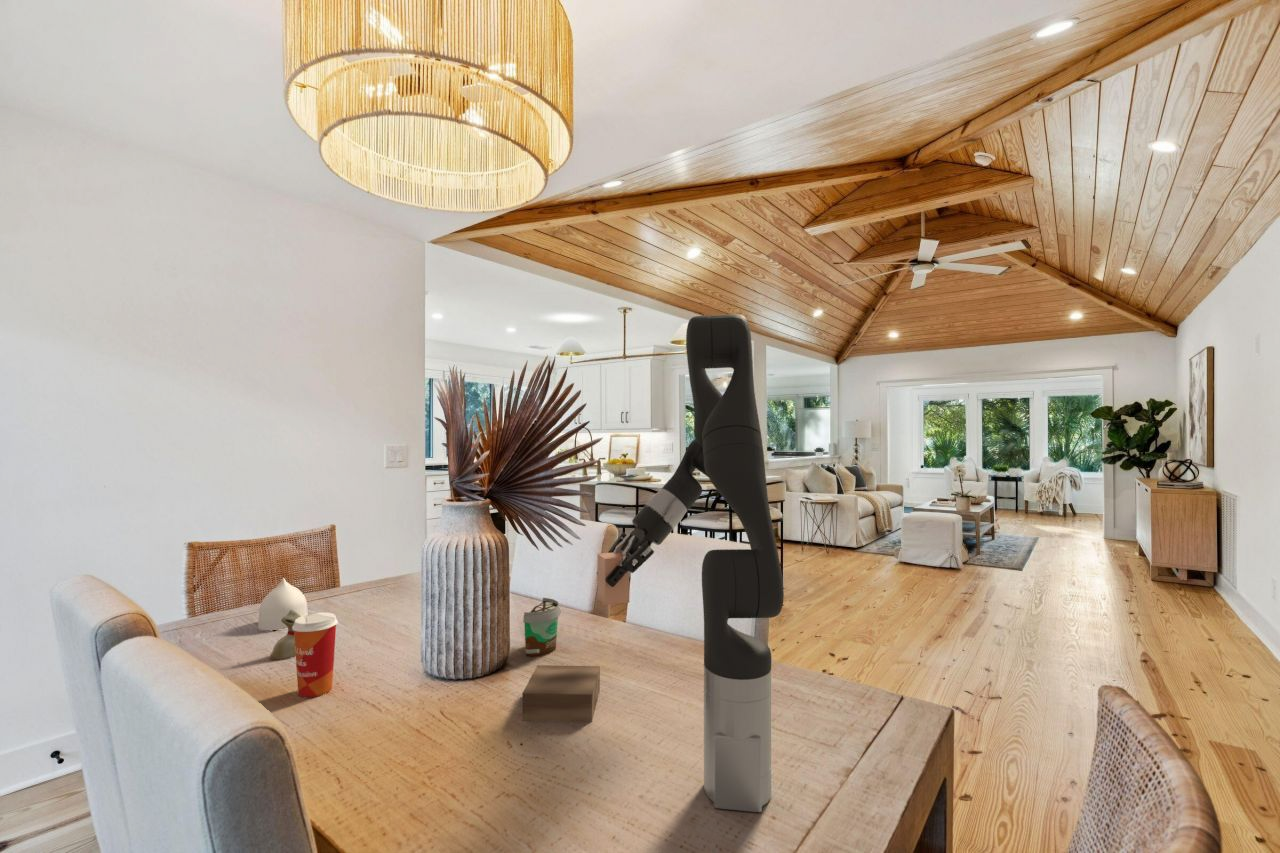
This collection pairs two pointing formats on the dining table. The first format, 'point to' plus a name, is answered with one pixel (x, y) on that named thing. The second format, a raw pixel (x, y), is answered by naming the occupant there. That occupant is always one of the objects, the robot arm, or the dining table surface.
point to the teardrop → (281, 606)
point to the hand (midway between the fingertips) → (604, 580)
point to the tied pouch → (286, 639)
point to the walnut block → (561, 693)
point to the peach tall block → (605, 591)
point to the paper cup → (315, 653)
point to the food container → (541, 628)
